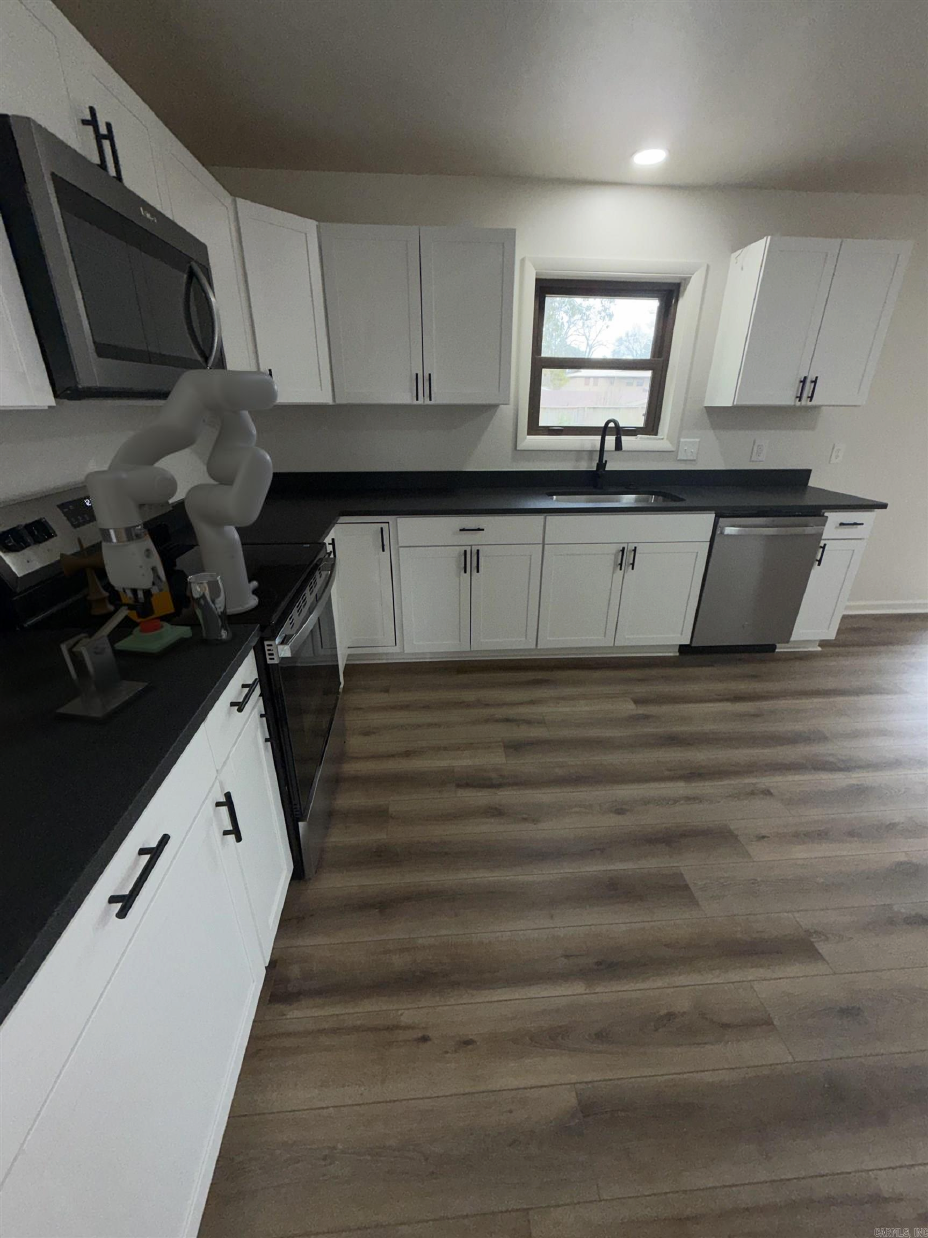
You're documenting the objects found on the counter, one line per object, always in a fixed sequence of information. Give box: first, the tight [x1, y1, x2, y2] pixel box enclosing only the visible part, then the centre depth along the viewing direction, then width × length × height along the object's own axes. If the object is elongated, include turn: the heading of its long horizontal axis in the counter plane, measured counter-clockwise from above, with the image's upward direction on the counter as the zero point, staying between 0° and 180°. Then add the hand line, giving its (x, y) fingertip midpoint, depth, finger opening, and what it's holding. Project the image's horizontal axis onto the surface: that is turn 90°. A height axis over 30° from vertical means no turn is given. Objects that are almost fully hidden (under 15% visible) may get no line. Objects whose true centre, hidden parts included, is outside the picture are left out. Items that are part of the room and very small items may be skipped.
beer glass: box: [186, 571, 233, 642], centre depth 110 cm, size 7×7×15 cm
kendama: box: [59, 536, 115, 616], centre depth 123 cm, size 6×10×20 cm, turn 124°
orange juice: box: [118, 533, 175, 623], centre depth 122 cm, size 8×9×20 cm
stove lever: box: [72, 601, 143, 660], centre depth 89 cm, size 13×5×2 cm, turn 170°
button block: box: [113, 621, 193, 654], centre depth 110 cm, size 11×10×4 cm
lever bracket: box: [55, 633, 149, 718], centre depth 87 cm, size 11×9×13 cm
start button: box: [138, 618, 162, 633], centre depth 109 cm, size 4×4×2 cm
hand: (146, 616), depth 108 cm, fingers closed
